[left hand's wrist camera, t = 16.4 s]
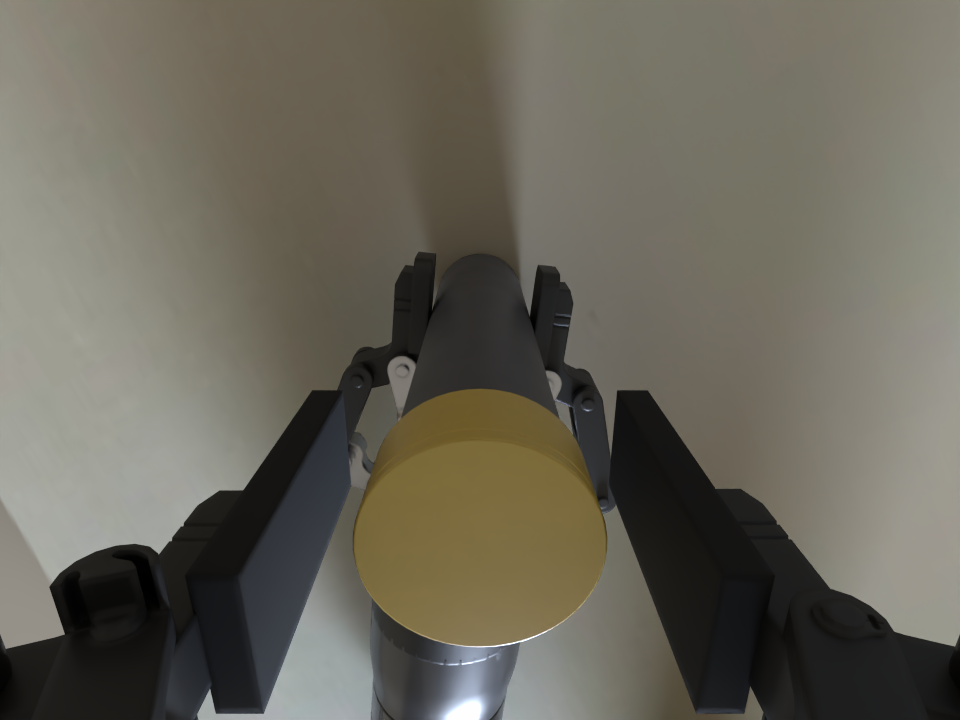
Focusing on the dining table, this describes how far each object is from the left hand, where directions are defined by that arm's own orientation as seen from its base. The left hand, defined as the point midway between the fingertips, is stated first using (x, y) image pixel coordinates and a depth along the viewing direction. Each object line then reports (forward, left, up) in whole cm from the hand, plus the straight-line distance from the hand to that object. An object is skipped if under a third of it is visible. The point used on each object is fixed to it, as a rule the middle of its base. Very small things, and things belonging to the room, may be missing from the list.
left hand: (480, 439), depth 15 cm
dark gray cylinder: (0, 0, -15) cm, 15 cm away
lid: (0, 0, +4) cm, 4 cm away
